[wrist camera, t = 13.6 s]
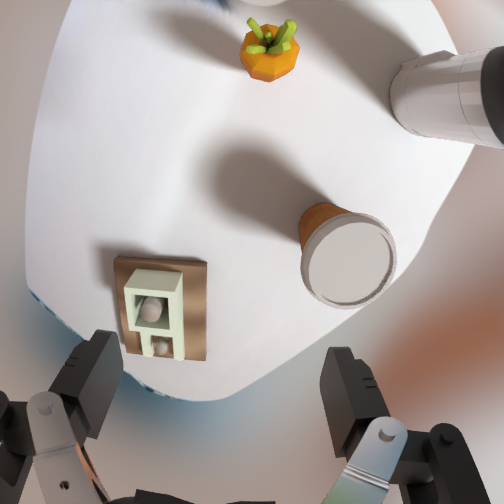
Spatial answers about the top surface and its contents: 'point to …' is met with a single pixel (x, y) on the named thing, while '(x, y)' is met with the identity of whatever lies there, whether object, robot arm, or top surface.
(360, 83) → the top surface
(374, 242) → the disposable coffee cup
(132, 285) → the hollow square block
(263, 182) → the top surface
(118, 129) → the top surface
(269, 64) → the carrot
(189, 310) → the post base
